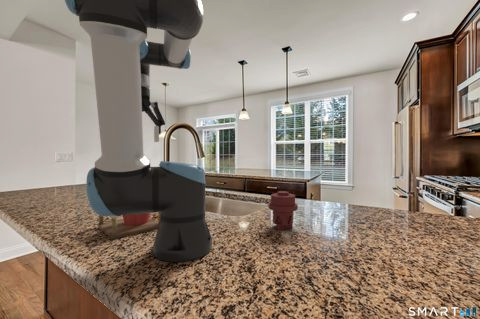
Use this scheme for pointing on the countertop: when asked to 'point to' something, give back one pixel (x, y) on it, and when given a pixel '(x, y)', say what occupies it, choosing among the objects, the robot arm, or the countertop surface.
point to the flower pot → (136, 219)
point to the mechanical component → (283, 209)
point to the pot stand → (126, 227)
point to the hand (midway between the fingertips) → (140, 141)
